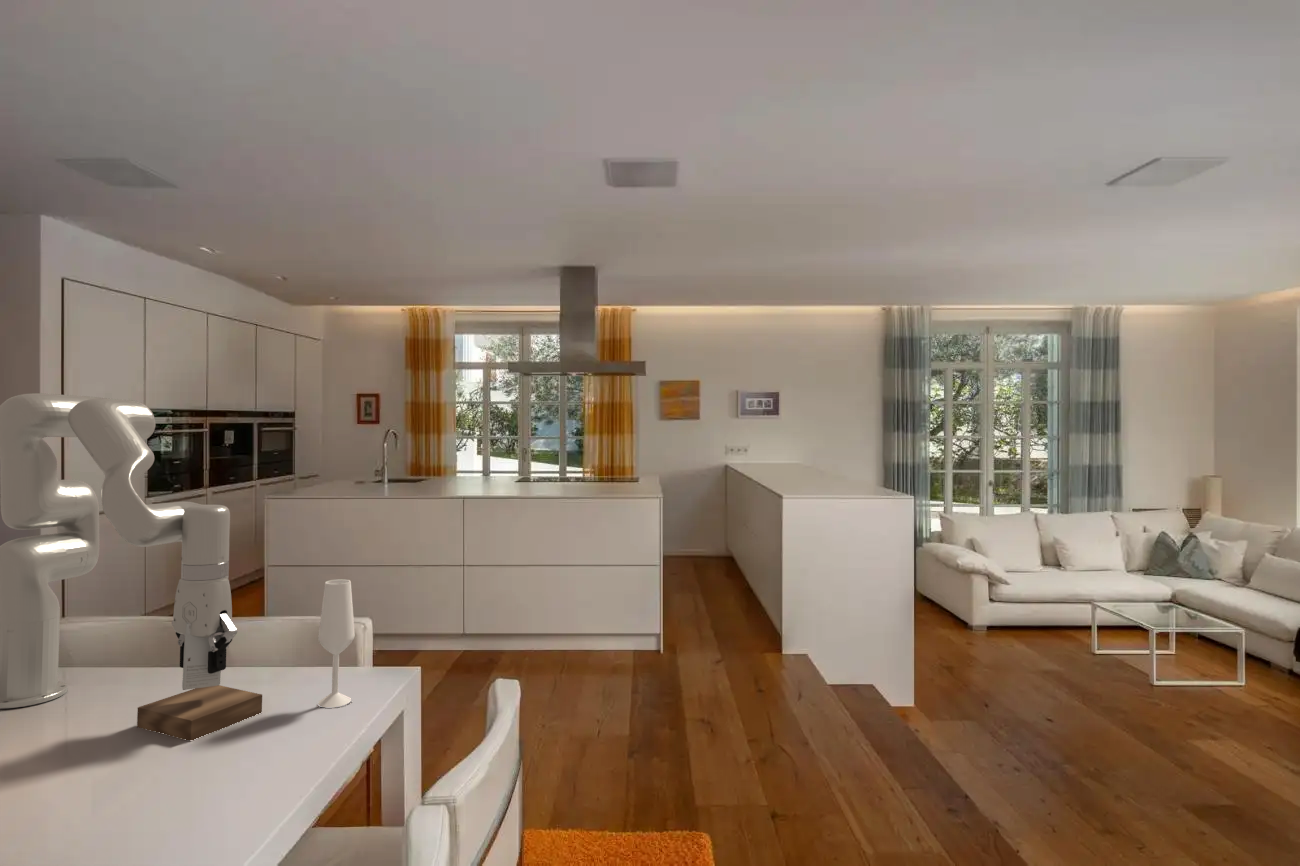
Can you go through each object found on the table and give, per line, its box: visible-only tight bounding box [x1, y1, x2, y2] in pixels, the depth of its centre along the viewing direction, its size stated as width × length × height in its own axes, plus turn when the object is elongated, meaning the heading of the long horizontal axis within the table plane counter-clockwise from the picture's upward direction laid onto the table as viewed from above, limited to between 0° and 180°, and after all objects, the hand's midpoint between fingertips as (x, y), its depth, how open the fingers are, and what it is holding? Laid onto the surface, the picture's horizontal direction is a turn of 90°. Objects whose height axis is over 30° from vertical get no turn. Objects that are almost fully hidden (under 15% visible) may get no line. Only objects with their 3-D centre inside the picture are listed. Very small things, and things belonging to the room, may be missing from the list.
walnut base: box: [136, 684, 263, 741], centre depth 133 cm, size 14×14×4 cm
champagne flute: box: [317, 578, 356, 707], centre depth 143 cm, size 7×7×24 cm
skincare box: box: [181, 622, 222, 691], centre depth 133 cm, size 6×4×12 cm
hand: (202, 667), depth 133 cm, fingers closed on skincare box, 6 cm apart
